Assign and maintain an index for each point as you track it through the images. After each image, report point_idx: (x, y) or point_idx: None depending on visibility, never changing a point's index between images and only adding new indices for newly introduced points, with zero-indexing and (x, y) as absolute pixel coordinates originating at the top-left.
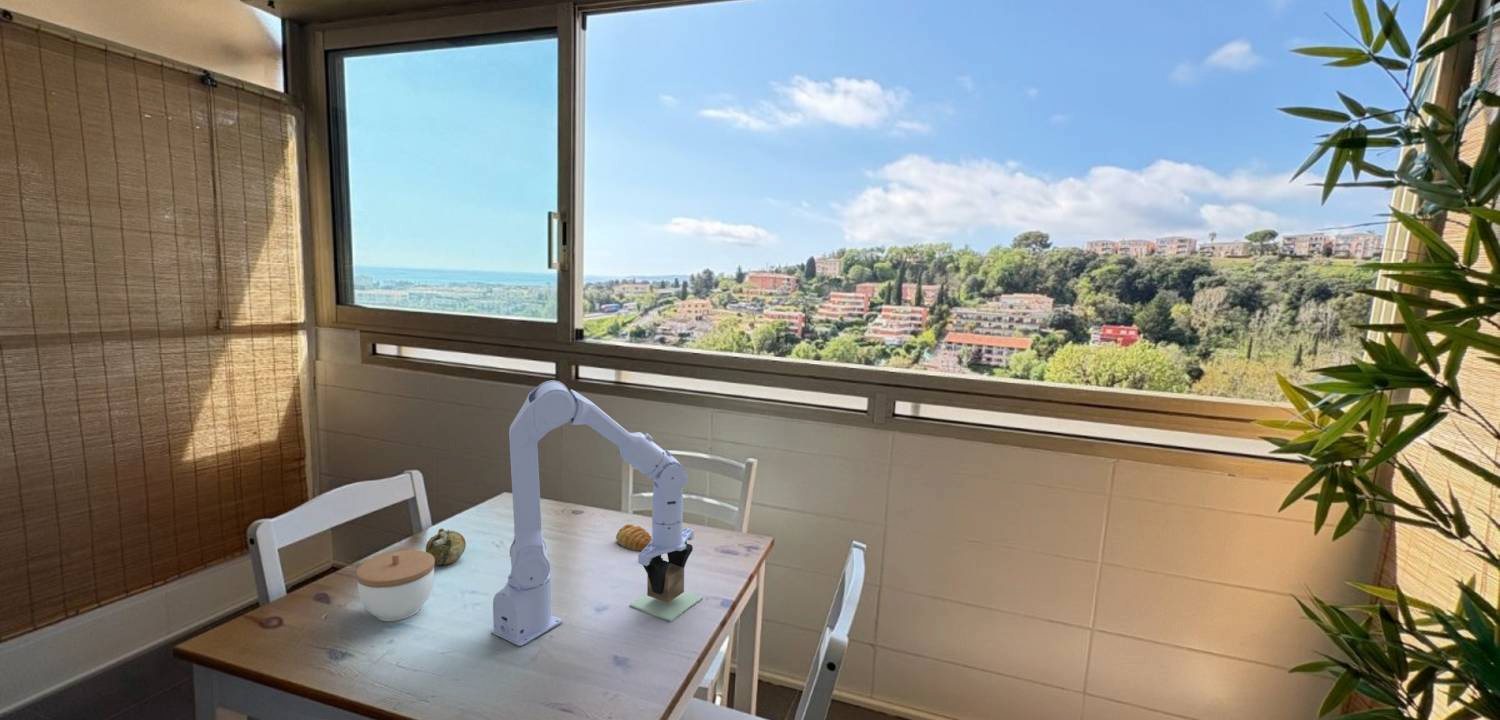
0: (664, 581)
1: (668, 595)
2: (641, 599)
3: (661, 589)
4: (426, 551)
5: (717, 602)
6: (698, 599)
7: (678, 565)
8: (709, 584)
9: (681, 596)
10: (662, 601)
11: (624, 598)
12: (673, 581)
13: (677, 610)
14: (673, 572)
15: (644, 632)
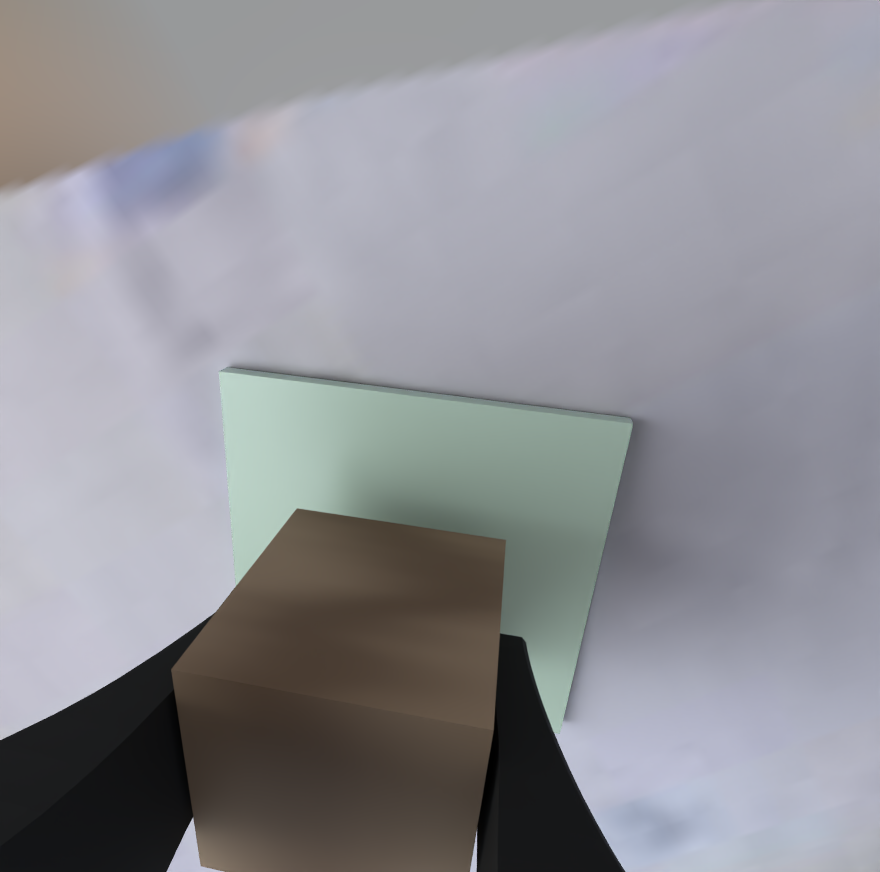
0: (498, 718)
1: (496, 577)
2: None
3: (527, 668)
4: None
5: (194, 233)
6: (265, 381)
7: (171, 735)
8: (43, 420)
9: (305, 508)
10: None
11: None
12: (402, 640)
13: (487, 444)
14: (341, 725)
15: (840, 516)
